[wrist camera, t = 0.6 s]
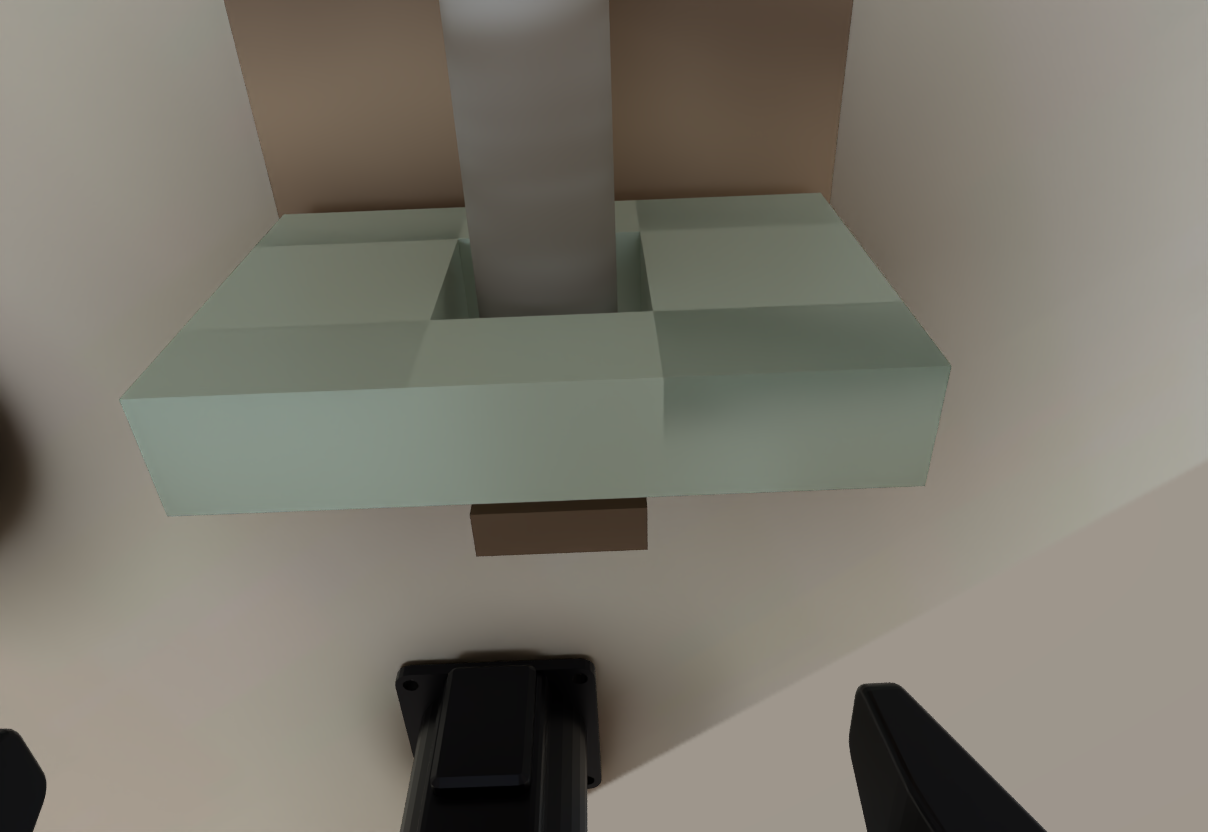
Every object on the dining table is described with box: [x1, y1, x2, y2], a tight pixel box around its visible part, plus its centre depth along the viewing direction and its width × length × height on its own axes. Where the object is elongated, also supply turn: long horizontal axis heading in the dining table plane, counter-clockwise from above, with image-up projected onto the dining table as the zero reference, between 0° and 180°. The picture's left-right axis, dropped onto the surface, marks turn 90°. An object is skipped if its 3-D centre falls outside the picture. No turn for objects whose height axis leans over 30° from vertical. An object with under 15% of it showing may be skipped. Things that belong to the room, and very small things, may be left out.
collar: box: [119, 193, 951, 516], centre depth 15 cm, size 2×11×7 cm, turn 92°
